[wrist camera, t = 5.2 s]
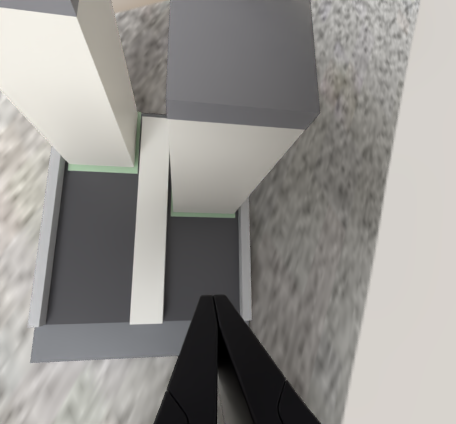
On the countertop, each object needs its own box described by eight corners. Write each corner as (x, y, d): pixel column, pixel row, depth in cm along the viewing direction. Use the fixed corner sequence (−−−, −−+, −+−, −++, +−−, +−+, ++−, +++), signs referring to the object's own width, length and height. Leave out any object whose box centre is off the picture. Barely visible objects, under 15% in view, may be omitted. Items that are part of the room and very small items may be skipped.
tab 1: (134, 167, 17) (64, -14, 7) (68, 164, 17) (-124, -41, 6) (137, 112, 18) (80, -130, 7) (75, 107, 17) (-84, -162, 7)
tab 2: (233, 214, 17) (320, 113, 7) (173, 212, 17) (166, 99, 6) (233, 158, 18) (309, -10, 8) (175, 154, 18) (171, -32, 7)
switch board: (246, 349, 17) (253, 356, 15) (35, 359, 15) (21, 368, 14) (242, 125, 20) (247, 113, 19) (66, 112, 18) (57, 97, 17)
